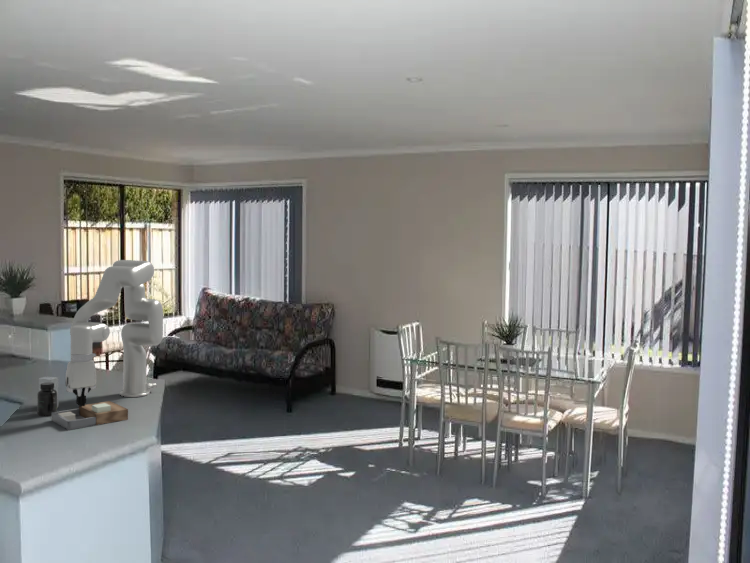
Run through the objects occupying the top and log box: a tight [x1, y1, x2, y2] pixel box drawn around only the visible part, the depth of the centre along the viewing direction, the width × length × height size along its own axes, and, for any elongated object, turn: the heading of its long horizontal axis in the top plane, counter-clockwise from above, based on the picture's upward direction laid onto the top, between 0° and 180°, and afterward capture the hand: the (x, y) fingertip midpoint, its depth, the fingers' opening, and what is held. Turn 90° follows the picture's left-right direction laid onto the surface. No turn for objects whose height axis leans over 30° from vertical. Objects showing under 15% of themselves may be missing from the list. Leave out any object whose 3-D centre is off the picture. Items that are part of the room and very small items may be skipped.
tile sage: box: [92, 403, 111, 413], centre depth 245 cm, size 5×5×2 cm
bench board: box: [78, 400, 129, 426], centre depth 250 cm, size 12×16×4 cm
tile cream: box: [59, 412, 75, 421], centre depth 244 cm, size 5×5×2 cm
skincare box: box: [38, 376, 59, 408], centre depth 262 cm, size 6×4×12 cm
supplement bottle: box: [36, 382, 58, 417], centre depth 252 cm, size 7×7×12 cm
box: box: [51, 407, 97, 431], centre depth 242 cm, size 10×16×3 cm, turn 46°
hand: (81, 405), depth 248 cm, fingers closed
